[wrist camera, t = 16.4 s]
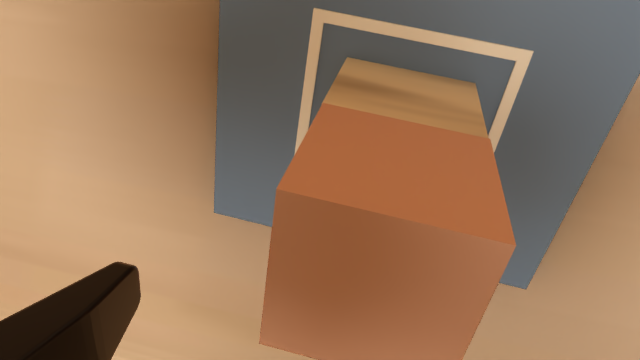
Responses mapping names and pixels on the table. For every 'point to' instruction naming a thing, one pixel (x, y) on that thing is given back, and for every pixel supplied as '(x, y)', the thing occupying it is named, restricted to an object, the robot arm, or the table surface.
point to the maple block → (408, 96)
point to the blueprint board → (437, 59)
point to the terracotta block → (384, 241)
